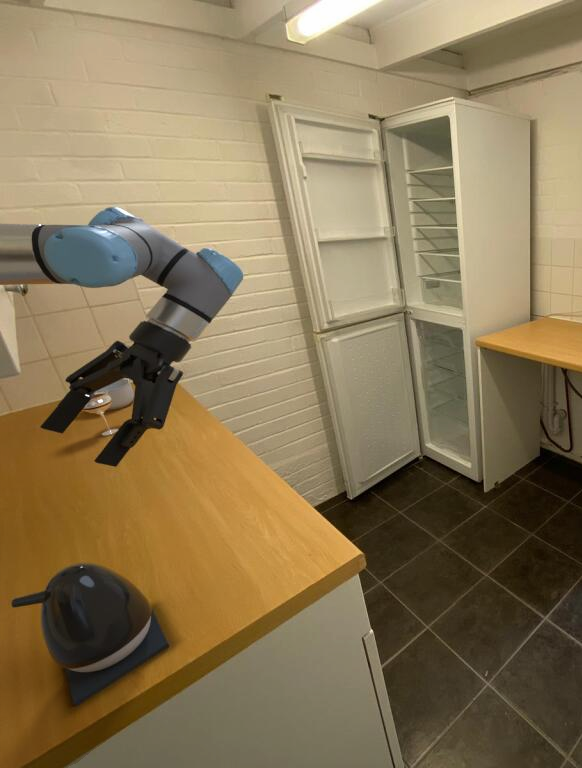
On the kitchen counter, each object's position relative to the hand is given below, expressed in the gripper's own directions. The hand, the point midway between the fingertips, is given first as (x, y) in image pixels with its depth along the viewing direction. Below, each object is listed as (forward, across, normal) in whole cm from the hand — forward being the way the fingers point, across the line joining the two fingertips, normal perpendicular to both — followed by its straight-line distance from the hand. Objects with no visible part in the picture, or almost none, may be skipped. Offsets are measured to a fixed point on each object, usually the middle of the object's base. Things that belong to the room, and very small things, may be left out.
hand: (77, 446), depth 63 cm
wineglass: (+8, +60, -47) cm, 77 cm away
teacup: (+4, +80, -57) cm, 98 cm away
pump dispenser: (+22, -19, -9) cm, 30 cm away
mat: (+22, -19, -10) cm, 31 cm away
